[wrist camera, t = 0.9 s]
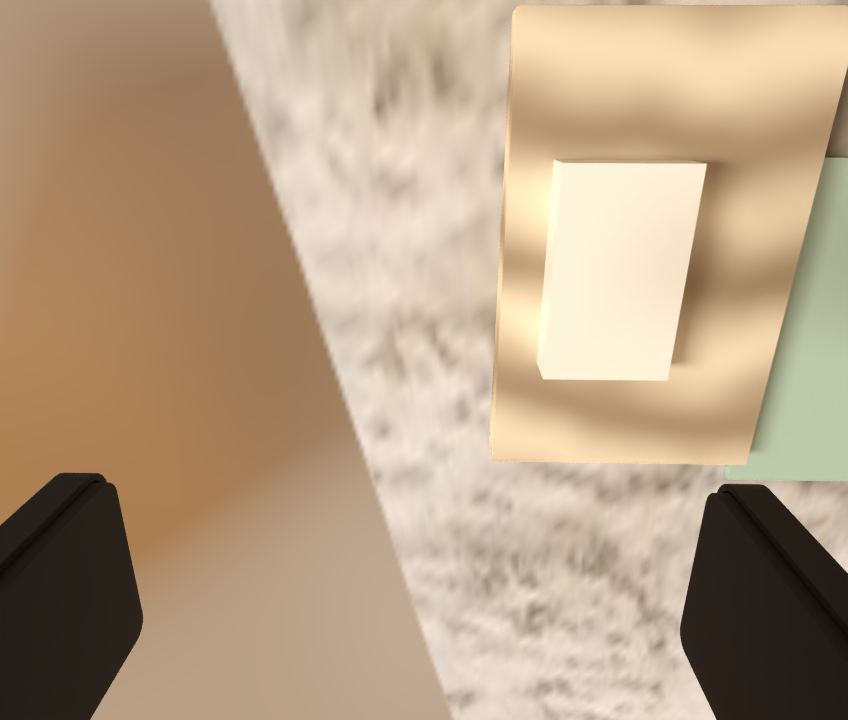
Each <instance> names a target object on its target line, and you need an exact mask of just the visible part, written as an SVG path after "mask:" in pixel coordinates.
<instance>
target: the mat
mask: <svg viewBox="0 0 848 720" xmlns="http://www.w3.org/2000/svg"><path fill="white" fill-rule="evenodd" d="M724 475H725V476H726V477H727V479H728V480H793V481H848V157H824V161H823V165H822V169H821V173H820V177H819V181H818V185H817V189H816V193H815V196H814V200H813V204H812V208H811V212H810V216H809V220H808V224H807V228H806V232H805V236H804V240H803V243H802V247H801V251H800V255H799V259H798V263H797V267H796V271H795V275H794V279H793V283H792V287H791V291H790V294H789V298H788V302H787V306H786V310H785V314H784V318H783V322H782V326H781V330H780V334H779V338H778V341H777V345H776V349H775V353H774V357H773V361H772V365H771V369H770V373H769V377H768V381H767V385H766V389H765V392H764V396H763V400H762V404H761V408H760V412H759V416H758V420H757V424H756V428H755V432H754V436H753V439H752V443H751V447H750V451H749V455H748V459H747V463H746V465H727V466H726V470H725V474H724Z"/></svg>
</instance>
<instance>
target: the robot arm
mask: <svg viewBox="0 0 848 720" xmlns="http://www.w3.org/2000/svg"><path fill="white" fill-rule="evenodd" d="M142 623H143V613H142V609H141V603H140V599H139V594H138V589H137V584H136V580H135V575H134V570H133V566H132V561H131V556H130V551H129V547H128V541H127V537H126V532H125V528H124V523H123V518H122V513H121V508H120V504H119V499H118V494H117V490H116V487H115V486H114V485H113V484H111V483H107V482H106V479H105V478H104V477H103V475H101V474H98V473H60V474H58V475H57V476H55V477H54V478H53V479H52V480H51V481H50V482H48V483H47V484H46V485H45V486H44V487H43V488H42V489H40V491H38V492H37V493H36V494H35V495H34V496H33V497H32V498H30V499H29V500H28V501H27V502H26V503H25V504H24V505H23V506H21V507H20V508H19V509H18V510H17V511H16V512H15V513H14V514H13V515H12V516H10V517H9V518H8V519H7V520H6V521H5V522H4V523H3V524H1V526H0V720H90V719H91V717H92V715H93V714H94V712H95V710H96V709H97V707H98V705H99V704H100V702H101V700H102V698H103V697H104V695H105V694H106V692H107V690H108V688H109V687H110V685H111V683H112V682H113V680H114V678H115V677H116V675H117V673H118V671H119V670H120V668H121V667H122V665H123V663H124V662H125V660H126V658H127V656H128V655H129V653H130V651H131V650H132V648H133V646H134V645H135V643H136V641H137V639H138V637H139V635H140V632H141V629H142ZM680 636H681V642H682V646H683V649H684V652H685V654H686V656H687V658H688V660H689V663H690V665H691V667H692V669H693V671H694V673H695V675H696V677H697V679H698V682H699V684H700V686H701V688H702V690H703V692H704V694H705V696H706V698H707V700H708V703H709V705H710V707H711V709H712V711H713V713H714V715H715V717H716V719H717V720H848V573H847V572H846V571H845V570H844V569H843V568H842V567H841V566H840V565H839V564H838V563H837V561H836V560H835V559H834V558H833V557H832V556H831V555H830V554H829V553H828V552H827V551H826V550H825V549H824V548H823V546H822V545H821V544H820V543H819V542H818V541H817V540H816V539H815V538H814V537H813V536H812V535H811V534H810V532H809V531H808V530H807V529H806V528H805V527H804V526H803V525H802V524H801V523H800V522H799V521H798V520H797V519H796V517H795V516H794V515H793V514H792V513H791V512H790V511H789V510H788V509H787V508H786V507H785V506H784V505H783V503H782V502H781V501H780V500H779V499H778V498H777V497H776V496H775V495H774V494H773V493H772V492H771V491H770V490H769V489H768V488H767V487H766V486H764V485H760V484H724V485H722V486H721V487H720V488H719V490H718V492H717V493H711V494H710V495H709V496H708V497H707V501H706V504H705V509H704V514H703V519H702V524H701V529H700V533H699V538H698V543H697V548H696V553H695V557H694V562H693V567H692V572H691V577H690V582H689V586H688V591H687V596H686V601H685V606H684V610H683V615H682V620H681V626H680Z"/></svg>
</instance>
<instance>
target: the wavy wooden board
mask: <svg viewBox="0 0 848 720" xmlns="http://www.w3.org/2000/svg"><path fill="white" fill-rule="evenodd" d="M847 67H848V5H518V6H517V8H516V9H515V10H514V11H513V14H512V33H511V51H510V70H509V89H508V107H507V126H506V145H505V163H504V182H503V201H502V219H501V238H500V256H499V275H498V294H497V312H496V331H495V350H494V368H493V387H492V406H491V424H490V449H491V455H492V461H504V462H576V463H648V464H720V465H746V463H747V459H748V455H749V451H750V447H751V443H752V439H753V436H754V432H755V428H756V424H757V420H758V416H759V412H760V408H761V404H762V400H763V396H764V392H765V389H766V385H767V381H768V377H769V373H770V369H771V365H772V361H773V357H774V353H775V349H776V345H777V341H778V338H779V334H780V330H781V326H782V322H783V318H784V314H785V310H786V306H787V302H788V298H789V294H790V291H791V287H792V283H793V279H794V275H795V271H796V267H797V263H798V259H799V255H800V251H801V247H802V243H803V240H804V236H805V232H806V228H807V224H808V220H809V216H810V212H811V208H812V204H813V200H814V196H815V193H816V189H817V185H818V181H819V177H820V173H821V169H822V165H823V161H824V157H825V153H826V149H827V145H828V142H829V138H830V134H831V130H832V126H833V122H834V118H835V114H836V110H837V106H838V102H839V98H840V95H841V91H842V87H843V83H844V79H845V75H846V71H847ZM554 159H606V160H691V161H696V162H701V163H706V164H707V166H706V172H705V177H704V183H703V188H702V194H701V199H700V205H699V210H698V216H697V221H696V227H695V232H694V238H693V243H692V249H691V254H690V260H689V265H688V271H687V276H686V282H685V287H684V293H683V298H682V304H681V309H680V315H679V320H678V326H677V331H676V337H675V342H674V348H673V353H672V359H671V364H670V370H669V376H668V381H647V380H559V379H543V378H542V375H541V373H540V370H539V367H538V365H537V355H538V343H539V331H540V319H541V307H542V296H543V284H544V272H545V260H546V248H547V237H548V225H549V213H550V201H551V189H552V178H553V166H554Z"/></svg>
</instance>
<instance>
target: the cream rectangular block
mask: <svg viewBox="0 0 848 720" xmlns="http://www.w3.org/2000/svg"><path fill="white" fill-rule="evenodd" d="M706 166H707V164H706V163H701V162H696V161H691V160H606V159H554V166H553V178H552V189H551V201H550V213H549V225H548V237H547V248H546V260H545V272H544V284H543V296H542V307H541V319H540V331H539V343H538V355H537V365H538V367H539V370H540V373H541V375H542V378H543V379H559V380H647V381H668V376H669V370H670V364H671V359H672V353H673V348H674V342H675V337H676V331H677V326H678V320H679V315H680V309H681V304H682V298H683V293H684V287H685V282H686V276H687V271H688V265H689V260H690V254H691V249H692V243H693V238H694V232H695V227H696V221H697V216H698V210H699V205H700V199H701V194H702V188H703V183H704V177H705V172H706Z"/></svg>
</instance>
